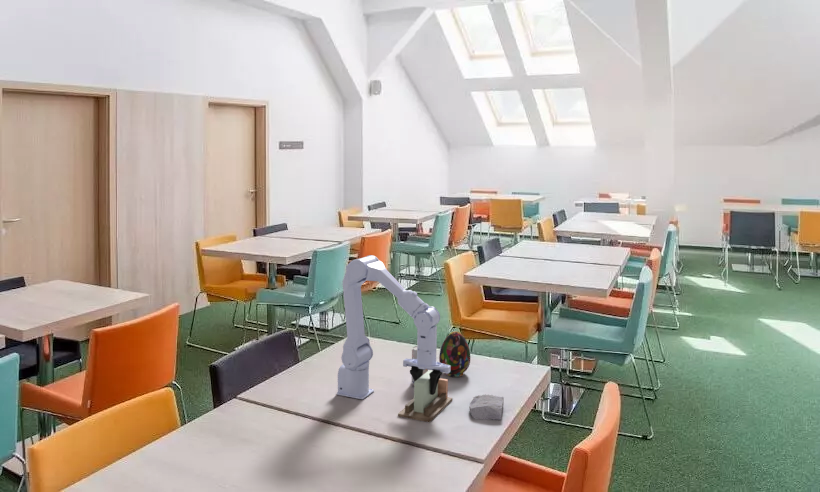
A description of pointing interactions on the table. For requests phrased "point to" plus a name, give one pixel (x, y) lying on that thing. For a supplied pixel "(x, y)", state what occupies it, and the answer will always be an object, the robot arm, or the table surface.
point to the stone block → (487, 407)
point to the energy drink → (414, 356)
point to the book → (423, 393)
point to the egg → (455, 354)
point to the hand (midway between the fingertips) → (426, 392)
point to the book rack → (433, 408)
